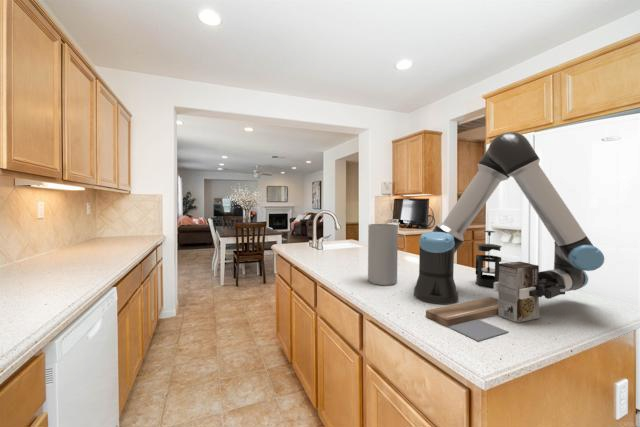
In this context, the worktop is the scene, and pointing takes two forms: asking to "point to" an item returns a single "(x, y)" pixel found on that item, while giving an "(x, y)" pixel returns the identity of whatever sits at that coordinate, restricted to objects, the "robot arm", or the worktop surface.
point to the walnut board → (464, 311)
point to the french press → (488, 279)
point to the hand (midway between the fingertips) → (507, 290)
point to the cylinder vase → (382, 253)
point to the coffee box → (517, 291)
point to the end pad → (478, 330)
